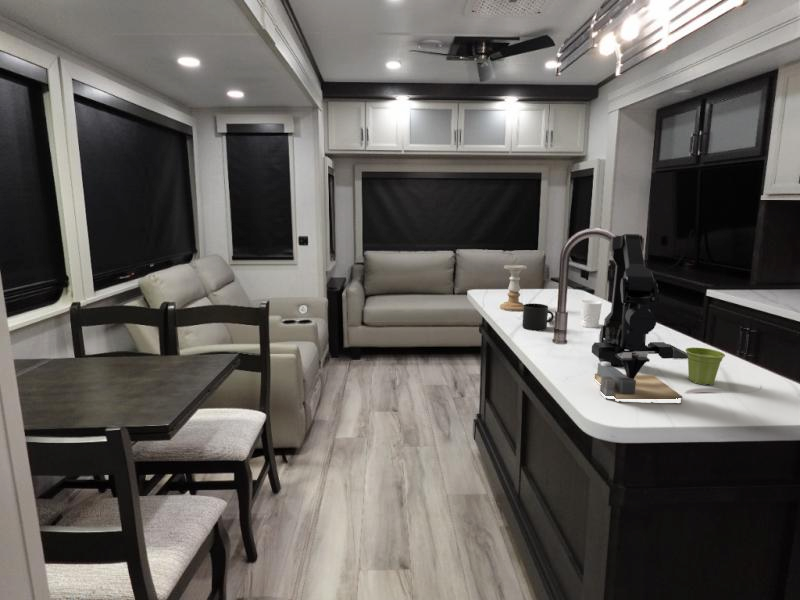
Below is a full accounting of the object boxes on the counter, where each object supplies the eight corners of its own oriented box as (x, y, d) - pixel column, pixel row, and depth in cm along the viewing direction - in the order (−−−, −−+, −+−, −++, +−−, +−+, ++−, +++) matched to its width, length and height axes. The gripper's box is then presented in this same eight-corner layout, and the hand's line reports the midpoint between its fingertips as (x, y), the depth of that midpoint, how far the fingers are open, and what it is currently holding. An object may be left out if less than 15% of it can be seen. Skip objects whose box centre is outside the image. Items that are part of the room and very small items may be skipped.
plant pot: (685, 373, 148) (689, 345, 146) (723, 381, 142) (727, 351, 140) (678, 382, 140) (682, 352, 139) (718, 390, 135) (722, 359, 133)
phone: (668, 343, 177) (693, 356, 162) (668, 346, 177) (693, 359, 162) (646, 343, 176) (669, 356, 162) (646, 346, 177) (669, 359, 162)
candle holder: (495, 306, 240) (497, 264, 237) (517, 305, 244) (520, 264, 240) (507, 312, 229) (510, 268, 225) (531, 310, 233) (534, 267, 229)
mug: (556, 331, 195) (557, 308, 194) (524, 330, 196) (526, 308, 194) (549, 325, 204) (551, 303, 203) (520, 324, 205) (521, 303, 203)
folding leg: (596, 373, 140) (597, 361, 139) (608, 373, 140) (609, 361, 140) (621, 393, 125) (622, 379, 125) (634, 393, 125) (636, 379, 125)
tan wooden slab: (587, 380, 141) (588, 363, 140) (652, 381, 141) (654, 364, 140) (608, 402, 125) (610, 383, 125) (681, 404, 125) (683, 384, 124)
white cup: (596, 324, 208) (598, 300, 206) (602, 328, 200) (604, 304, 198) (577, 323, 208) (578, 299, 207) (581, 328, 201) (583, 303, 199)
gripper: (656, 316, 134) (651, 371, 137) (586, 316, 135) (582, 372, 138) (678, 326, 123) (672, 386, 126) (601, 326, 124) (597, 386, 127)
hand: (629, 382), depth 130 cm, fingers closed
